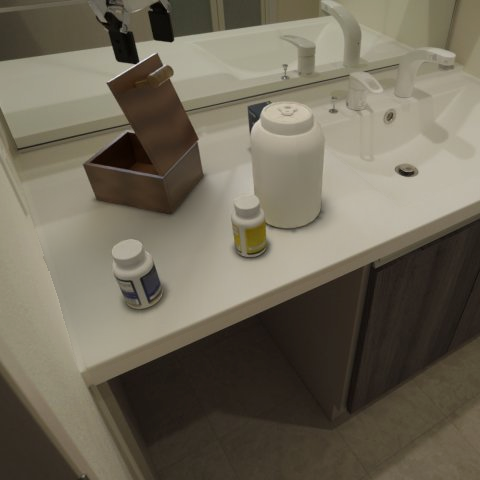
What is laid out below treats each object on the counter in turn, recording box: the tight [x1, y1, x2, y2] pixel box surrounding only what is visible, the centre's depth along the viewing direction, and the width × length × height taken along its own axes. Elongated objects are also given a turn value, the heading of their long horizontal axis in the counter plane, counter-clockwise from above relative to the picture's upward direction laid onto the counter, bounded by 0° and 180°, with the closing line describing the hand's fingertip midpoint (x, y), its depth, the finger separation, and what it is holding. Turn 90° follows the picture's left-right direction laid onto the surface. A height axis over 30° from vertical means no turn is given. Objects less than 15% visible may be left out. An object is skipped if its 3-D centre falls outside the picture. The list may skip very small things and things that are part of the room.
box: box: [247, 100, 273, 135], centre depth 91 cm, size 8×6×11 cm
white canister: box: [249, 100, 326, 229], centre depth 73 cm, size 12×12×20 cm
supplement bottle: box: [230, 193, 268, 258], centre depth 68 cm, size 5×5×10 cm
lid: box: [106, 52, 200, 177], centre depth 71 cm, size 16×14×5 cm
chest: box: [82, 129, 204, 215], centre depth 80 cm, size 16×14×8 cm
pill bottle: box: [110, 238, 164, 310], centre depth 59 cm, size 5×5×10 cm
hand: (147, 51), depth 60 cm, fingers open, 9 cm apart
